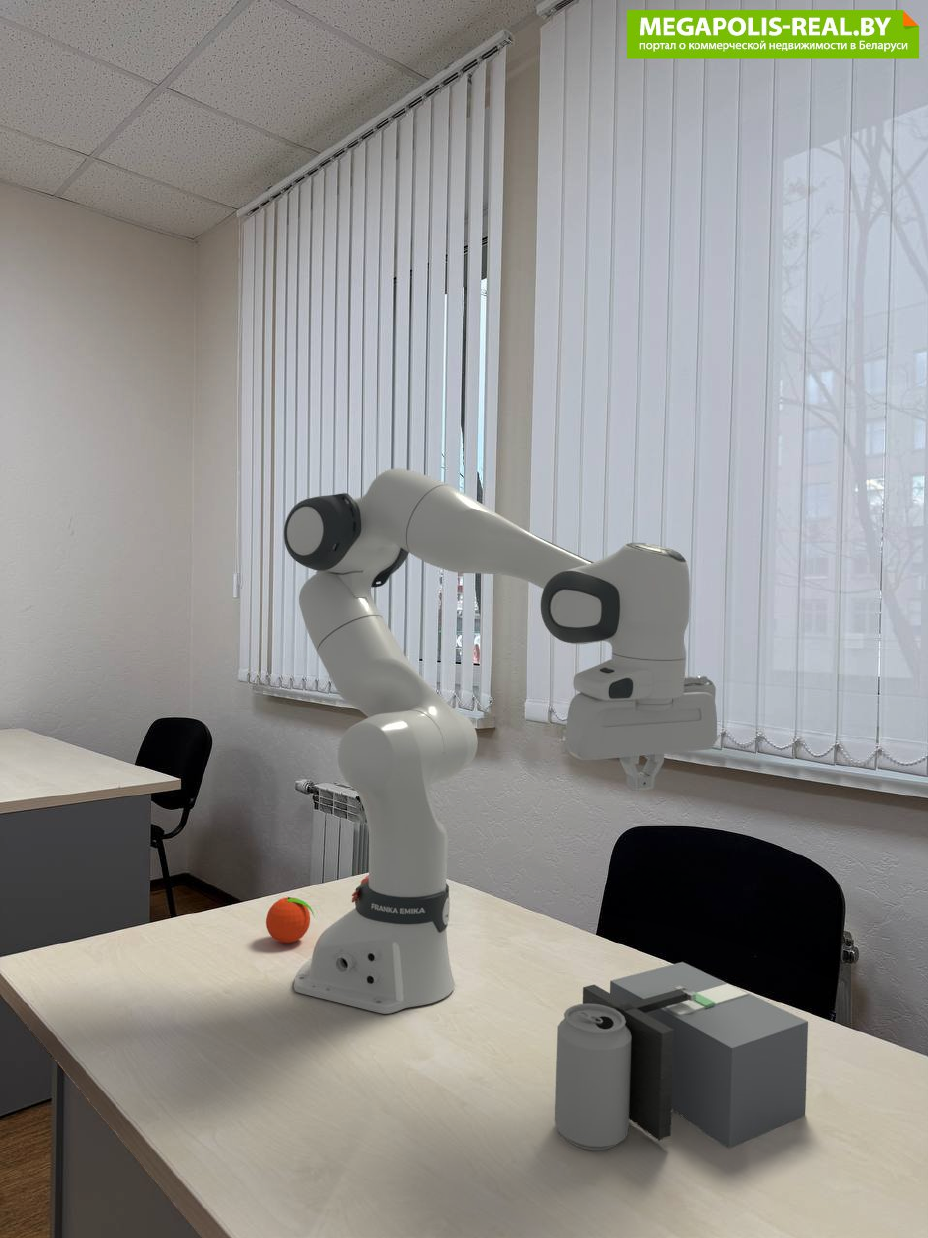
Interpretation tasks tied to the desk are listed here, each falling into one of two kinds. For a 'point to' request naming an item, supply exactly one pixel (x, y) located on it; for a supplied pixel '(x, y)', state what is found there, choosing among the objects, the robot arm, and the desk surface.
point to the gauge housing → (727, 1053)
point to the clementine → (288, 920)
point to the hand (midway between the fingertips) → (639, 788)
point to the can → (593, 1076)
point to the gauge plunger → (647, 1055)
